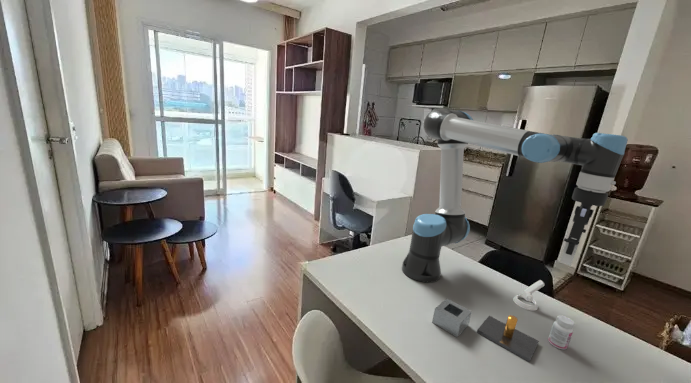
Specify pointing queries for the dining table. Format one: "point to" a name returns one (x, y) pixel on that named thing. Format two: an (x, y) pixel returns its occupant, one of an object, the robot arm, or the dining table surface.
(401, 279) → the dining table surface
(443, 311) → the grey square socket block
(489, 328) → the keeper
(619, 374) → the dining table surface
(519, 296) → the vr controller
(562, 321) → the pill bottle
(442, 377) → the dining table surface
